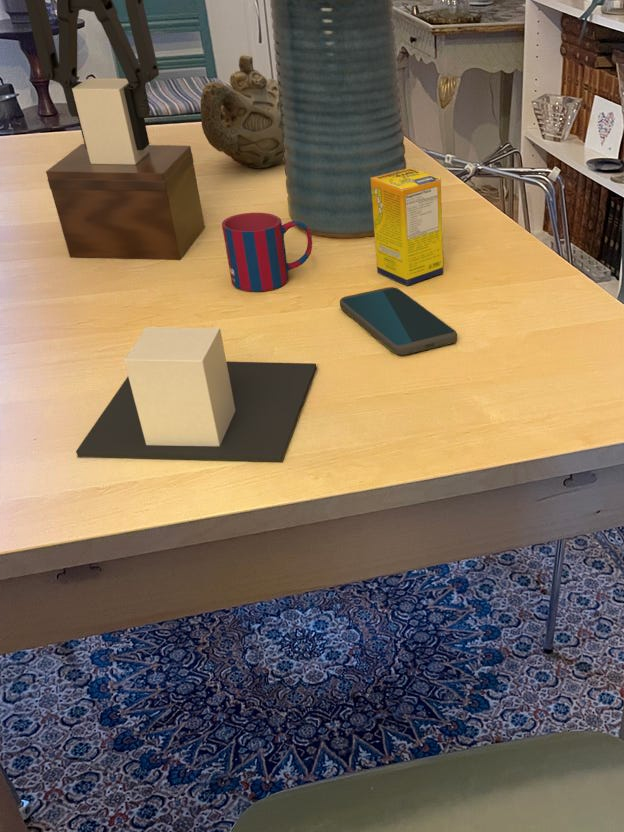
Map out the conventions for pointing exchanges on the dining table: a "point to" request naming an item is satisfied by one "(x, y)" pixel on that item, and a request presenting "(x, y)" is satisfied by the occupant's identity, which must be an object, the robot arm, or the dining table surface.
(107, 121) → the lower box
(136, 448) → the rubber mat
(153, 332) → the upper box
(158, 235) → the brown rectangular block
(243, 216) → the mug
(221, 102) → the teapot
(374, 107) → the vase
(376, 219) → the supplement box
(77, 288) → the dining table surface
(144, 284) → the dining table surface
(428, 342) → the smartphone
